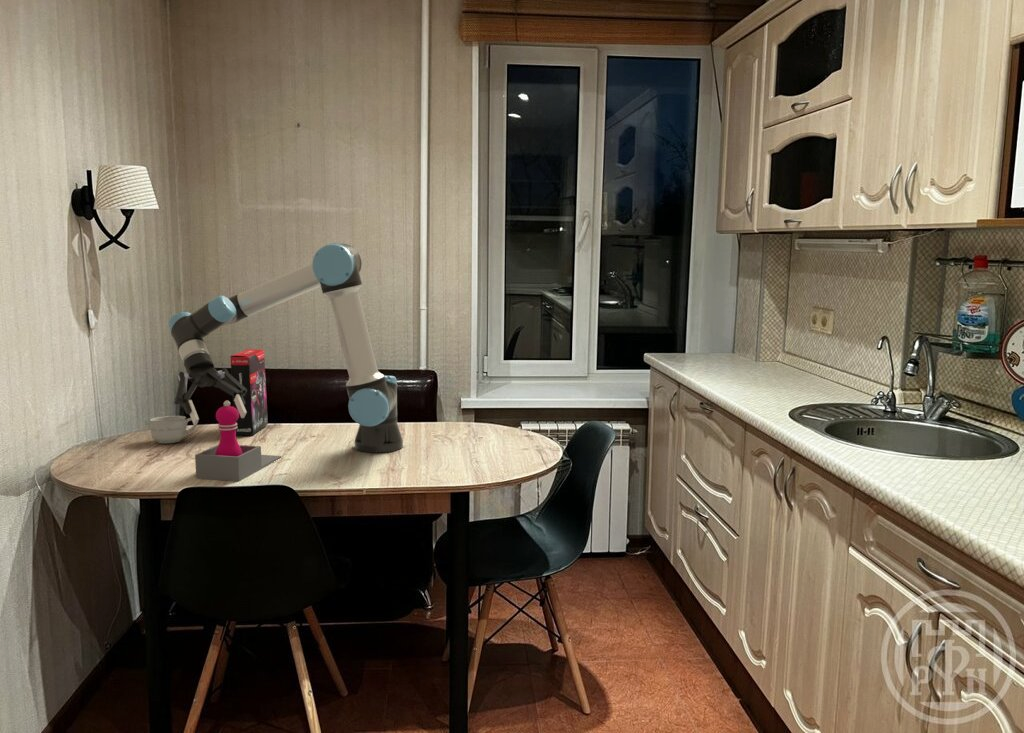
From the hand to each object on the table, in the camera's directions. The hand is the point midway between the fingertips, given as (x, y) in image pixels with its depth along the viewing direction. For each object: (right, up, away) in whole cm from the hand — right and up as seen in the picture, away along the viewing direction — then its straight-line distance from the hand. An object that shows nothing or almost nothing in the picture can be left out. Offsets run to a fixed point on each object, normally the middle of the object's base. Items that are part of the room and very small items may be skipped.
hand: (220, 418), depth 225 cm
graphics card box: (-8, -8, +52) cm, 54 cm away
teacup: (-28, -10, +36) cm, 46 cm away
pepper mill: (+2, -15, 0) cm, 15 cm away
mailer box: (+4, -14, +6) cm, 16 cm away
